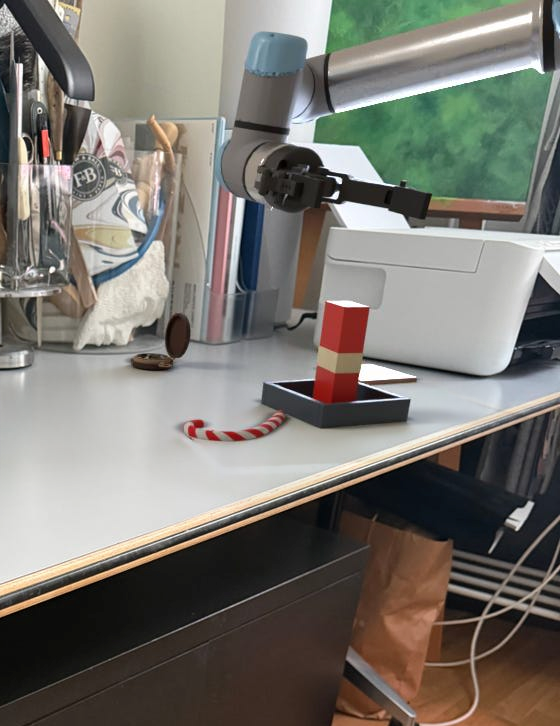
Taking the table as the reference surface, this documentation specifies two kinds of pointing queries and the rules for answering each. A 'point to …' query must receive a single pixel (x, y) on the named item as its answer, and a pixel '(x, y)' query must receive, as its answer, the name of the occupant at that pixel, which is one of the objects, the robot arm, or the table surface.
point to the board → (382, 375)
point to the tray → (335, 405)
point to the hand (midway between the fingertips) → (374, 200)
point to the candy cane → (193, 430)
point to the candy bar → (340, 351)
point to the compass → (167, 345)
